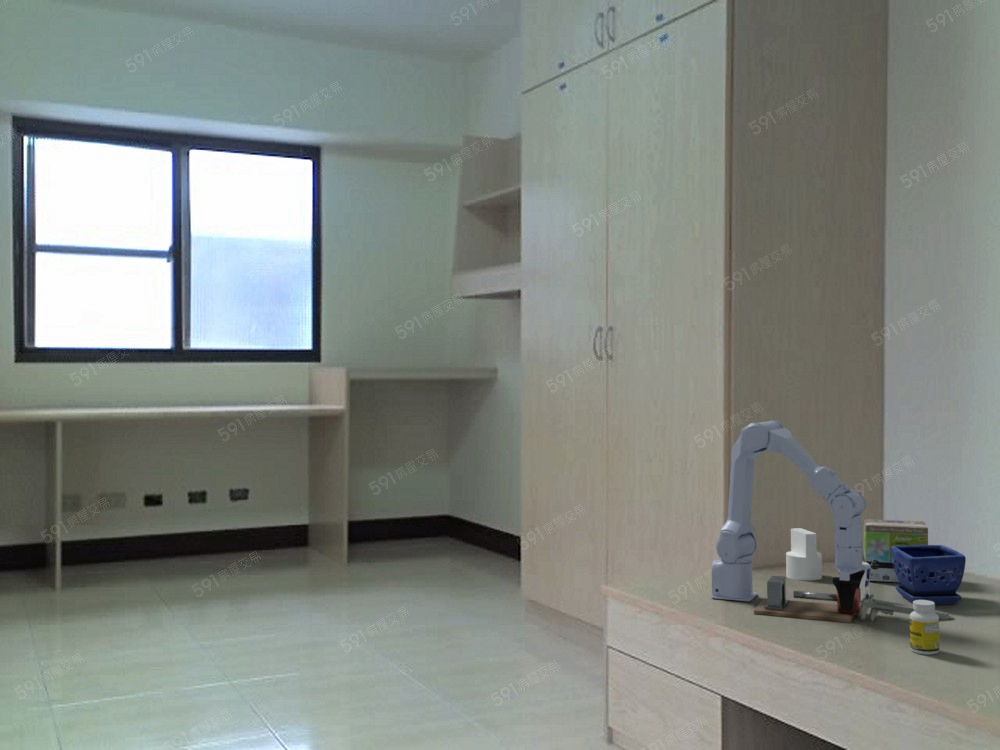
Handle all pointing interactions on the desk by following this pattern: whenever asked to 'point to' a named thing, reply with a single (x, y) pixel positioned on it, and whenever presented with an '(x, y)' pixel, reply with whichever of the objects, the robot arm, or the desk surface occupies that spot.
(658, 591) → the desk surface
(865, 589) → the milkshake
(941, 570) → the flower pot
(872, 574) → the tea box
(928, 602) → the supplement bottle
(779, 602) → the slotted metal block
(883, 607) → the caliper
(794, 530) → the base with upright slab
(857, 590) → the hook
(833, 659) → the desk surface
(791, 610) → the board
